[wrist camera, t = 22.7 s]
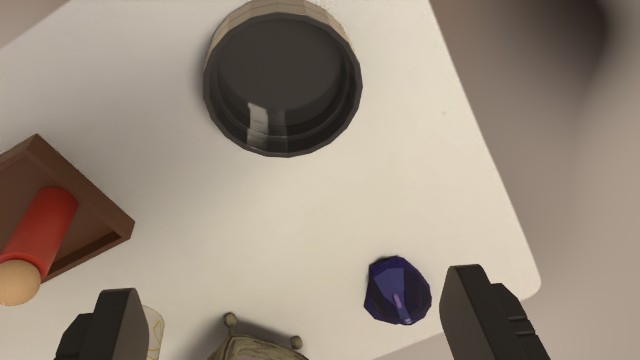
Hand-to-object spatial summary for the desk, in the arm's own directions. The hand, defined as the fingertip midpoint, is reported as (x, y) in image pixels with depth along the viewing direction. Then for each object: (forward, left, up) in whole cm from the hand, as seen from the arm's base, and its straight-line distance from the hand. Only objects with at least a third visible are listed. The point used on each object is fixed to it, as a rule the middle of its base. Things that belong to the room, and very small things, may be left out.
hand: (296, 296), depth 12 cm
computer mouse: (+30, -30, -32) cm, 53 cm away
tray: (-14, -33, -32) cm, 48 cm away
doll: (-11, -29, -32) cm, 44 cm away
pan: (+4, -7, -32) cm, 33 cm away
